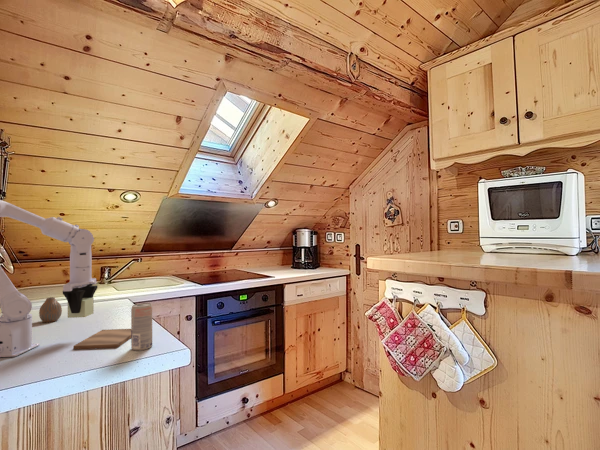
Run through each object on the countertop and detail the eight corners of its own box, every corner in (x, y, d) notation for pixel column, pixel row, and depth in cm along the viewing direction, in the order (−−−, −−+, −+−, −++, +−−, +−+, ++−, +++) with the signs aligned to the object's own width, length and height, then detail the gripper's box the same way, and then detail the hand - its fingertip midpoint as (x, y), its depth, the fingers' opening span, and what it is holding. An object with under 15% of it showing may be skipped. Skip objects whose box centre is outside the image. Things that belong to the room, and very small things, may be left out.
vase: (65, 320, 128) (65, 297, 129) (44, 324, 123) (44, 300, 123) (56, 318, 132) (56, 295, 132) (35, 322, 126) (35, 298, 126)
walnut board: (117, 347, 95) (117, 344, 95) (73, 349, 94) (73, 345, 95) (140, 331, 111) (140, 328, 111) (102, 332, 110) (102, 329, 110)
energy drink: (146, 343, 99) (146, 302, 99) (156, 347, 95) (155, 304, 96) (128, 348, 95) (127, 305, 95) (136, 352, 91) (136, 307, 92)
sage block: (84, 317, 103) (84, 300, 103) (67, 317, 103) (67, 301, 103) (93, 313, 108) (93, 297, 108) (77, 313, 108) (77, 298, 108)
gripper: (81, 269, 99) (81, 316, 98) (105, 264, 113) (105, 305, 113) (55, 269, 98) (55, 316, 98) (83, 265, 113) (83, 306, 112)
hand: (80, 310), depth 105 cm, fingers closed on sage block, 5 cm apart
